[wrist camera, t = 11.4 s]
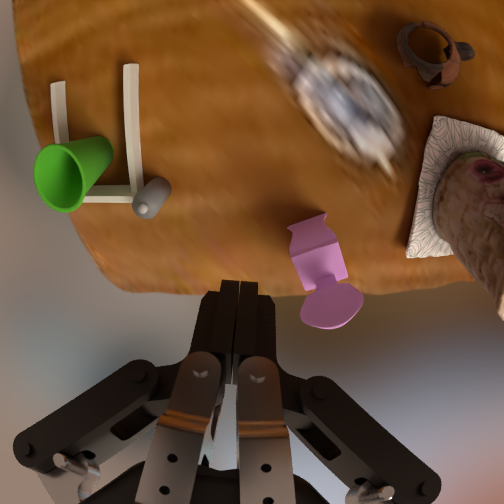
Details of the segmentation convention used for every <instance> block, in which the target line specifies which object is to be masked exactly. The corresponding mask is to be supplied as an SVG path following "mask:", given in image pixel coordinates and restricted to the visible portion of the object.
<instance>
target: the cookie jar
mask: <svg viewBox="0 0 504 504" xmlns="http://www.w3.org/2000/svg"><path fill="white" fill-rule="evenodd" d="M418 184H419V190H418V196H417V201H416V206H415V212H414V217H413V222H412V227H411V232H410V236H409V240H408V245H407V247H406V253H405V254H406V257H407V258H416V257H419V258H423V257H428V256H433V257H436V256H438V257H439V256H446V255H451V254H454V255H455V256H456V257H457V258H458V259H459V260H460V262H461V263H462V264H463V265H464V267H465V268H466V269H467V271H468V272H469V273H470V274H471V276H472V277H473V278H474V279H476V280H477V281H479V282H480V283H481V284H482V286H483V287H484V288H485V289H486V290H487V292H488V293H489V294H490V295H491V297H492V298H493V299H494V300H495V303H494V304H495V309H496V311H497V313H498V315H499V316H500V317H501V319H502V320H503V321H504V136H503V135H500V134H498V133H497V132H496V131H493V130H491V129H486V128H483V127H481V126H478V125H474V124H471V123H467V122H464V121H459V120H456V119H451V118H448V117H446V116H435V117H434V122H433V126H432V130H431V132H430V135H429V137H428V139H427V142H426V146H425V151H424V160H423V163H422V170H421V174H420V179H419V183H418Z"/></svg>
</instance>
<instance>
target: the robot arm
mask: <svg viewBox="0 0 504 504" xmlns="http://www.w3.org/2000/svg"><path fill="white" fill-rule="evenodd" d="M275 321H276V320H275V304H274V302H273V301H272V299H271V297H270V296H269V295H258V282H248V281H241V284H240V293H239V281H234V280H222V282H221V287H220V292H216V291H208V292H207V293H206V295H205V296H204V297H203V298H202V300H201V304H200V308H199V312H198V317H197V321H196V325H195V329H194V334H193V338H192V343H191V347H190V351H189V353H188V355H187V356H186V357H185V358H184V359H183V360H182V361H180V362H178V363H176V364H173V365H167V366H160V367H155V366H154V365H153V364H152V363H151V362H149V361H147V360H133V361H131V362H129V363H127V364H126V365H124V366H123V367H122V368H120V369H118V370H117V371H116V372H114V373H112V374H111V375H109V376H108V377H106V378H105V379H103V380H102V381H101V382H99V383H98V384H96V385H94V386H93V387H91V388H90V389H88V390H87V391H85V392H84V393H82V394H81V395H79V396H78V397H76V398H75V399H73V400H71V401H70V402H69V403H67V404H65V405H64V406H62V407H61V408H59V409H58V410H56V411H54V412H53V413H51V414H50V415H48V416H46V417H45V418H43V419H42V420H40V421H39V422H37V423H36V424H34V425H32V426H31V427H29V428H27V429H26V430H24V431H23V432H21V433H19V434H18V435H17V436H16V438H15V439H14V442H13V451H14V455H15V457H16V459H17V460H18V461H19V463H20V464H22V465H23V466H25V467H27V468H30V469H32V470H34V471H35V472H36V473H37V474H38V476H39V478H40V479H41V481H42V483H43V485H44V486H45V488H46V490H47V491H48V493H49V495H50V496H51V498H52V499H53V501H54V502H55V504H330V503H329V502H328V501H327V500H326V499H325V498H324V497H322V495H320V493H319V492H318V491H317V490H316V489H315V488H314V487H313V486H312V485H311V484H310V483H308V482H307V481H306V480H304V479H303V478H301V477H299V476H297V475H295V474H293V468H292V458H291V448H290V438H289V433H288V428H287V427H286V426H288V427H289V429H290V430H291V431H292V432H293V433H294V434H295V435H296V436H297V437H298V438H299V440H300V441H301V442H302V443H304V445H305V446H306V447H307V448H308V449H309V450H310V451H311V452H312V453H313V454H314V455H315V456H316V457H317V458H318V459H319V460H320V461H321V462H322V463H323V464H324V465H325V466H326V467H327V468H328V469H329V470H330V471H331V472H332V473H334V474H335V475H336V476H337V477H338V478H339V479H340V480H341V481H342V482H343V483H344V484H345V485H346V486H348V487H349V488H350V490H349V491H348V493H347V494H346V497H345V504H431V503H432V502H433V501H435V499H436V498H437V497H438V495H439V493H440V491H441V479H440V477H439V476H438V474H436V473H435V472H434V471H433V470H432V469H431V468H429V467H428V466H427V465H426V464H425V463H423V462H422V461H421V460H420V459H419V458H418V457H416V456H415V455H414V454H413V453H412V452H411V451H409V450H408V449H407V448H406V447H405V446H404V445H402V444H401V443H400V442H399V441H398V440H397V439H396V438H395V437H394V436H392V435H391V434H390V433H389V432H388V431H387V430H386V429H384V428H383V427H382V426H381V425H380V424H379V423H378V422H377V421H375V419H373V418H372V417H371V416H370V415H369V414H368V413H367V412H366V411H365V410H364V409H363V408H361V407H360V406H359V405H358V404H357V403H356V402H355V401H354V400H353V399H352V398H350V396H349V395H348V394H347V393H345V392H344V391H343V390H342V389H341V388H340V387H339V386H338V385H337V384H336V383H335V382H334V381H333V380H331V379H329V378H327V377H324V376H314V377H311V378H309V379H307V380H305V379H302V378H299V377H296V376H293V375H290V374H288V373H286V372H285V371H284V370H283V369H282V368H281V367H280V366H279V364H278V362H277V359H276V326H275V324H276V322H275ZM232 368H233V384H235V385H237V396H236V431H237V432H236V435H237V469H231V470H225V471H219V470H215V469H212V468H211V465H212V460H213V454H214V444H215V438H216V433H217V428H218V422H219V417H220V412H221V407H222V403H223V398H224V393H225V384H231V378H232ZM155 426H156V427H155ZM153 427H155V431H154V434H153V438H152V441H151V444H150V447H149V451H148V454H147V458H146V461H143V462H140V463H137V464H136V465H133V466H132V467H131V468H129V469H128V470H127V471H125V472H123V473H122V474H121V475H120V476H118V477H117V478H115V479H114V480H112V481H111V482H110V483H108V484H107V485H105V486H104V487H102V488H101V489H100V490H98V491H97V492H95V493H94V494H92V495H91V491H92V488H93V487H94V486H95V485H96V484H97V483H98V482H99V480H100V476H101V473H100V469H99V465H100V464H102V463H103V462H105V461H106V460H108V459H109V458H111V457H112V456H114V455H115V454H117V453H118V452H120V451H121V450H122V449H124V448H125V447H127V446H128V445H130V444H131V443H132V442H134V441H135V440H137V439H138V438H140V437H141V436H142V435H144V434H145V433H146V432H148V431H149V430H150V429H152V428H153Z"/></svg>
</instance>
